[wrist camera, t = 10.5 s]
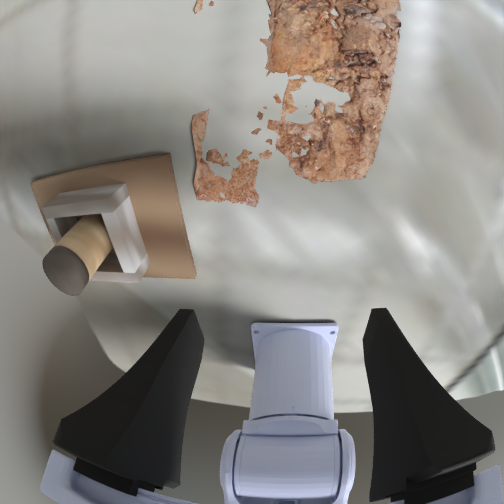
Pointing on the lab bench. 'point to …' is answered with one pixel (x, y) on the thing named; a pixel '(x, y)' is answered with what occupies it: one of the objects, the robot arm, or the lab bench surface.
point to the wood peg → (78, 254)
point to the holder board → (123, 216)
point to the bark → (330, 121)
